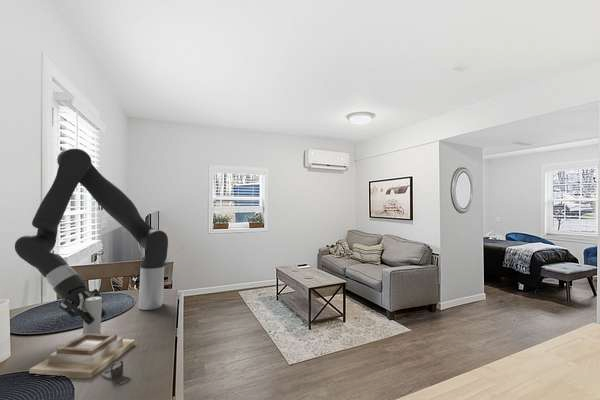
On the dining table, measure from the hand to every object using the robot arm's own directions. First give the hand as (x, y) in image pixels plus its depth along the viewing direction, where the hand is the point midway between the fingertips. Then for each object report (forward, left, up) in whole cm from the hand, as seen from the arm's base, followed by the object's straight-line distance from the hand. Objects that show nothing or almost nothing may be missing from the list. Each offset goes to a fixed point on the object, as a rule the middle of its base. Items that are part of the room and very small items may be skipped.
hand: (97, 319), depth 95 cm
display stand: (+14, +8, -5) cm, 17 cm away
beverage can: (0, -2, -5) cm, 6 cm away
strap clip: (+22, +22, -6) cm, 32 cm away
